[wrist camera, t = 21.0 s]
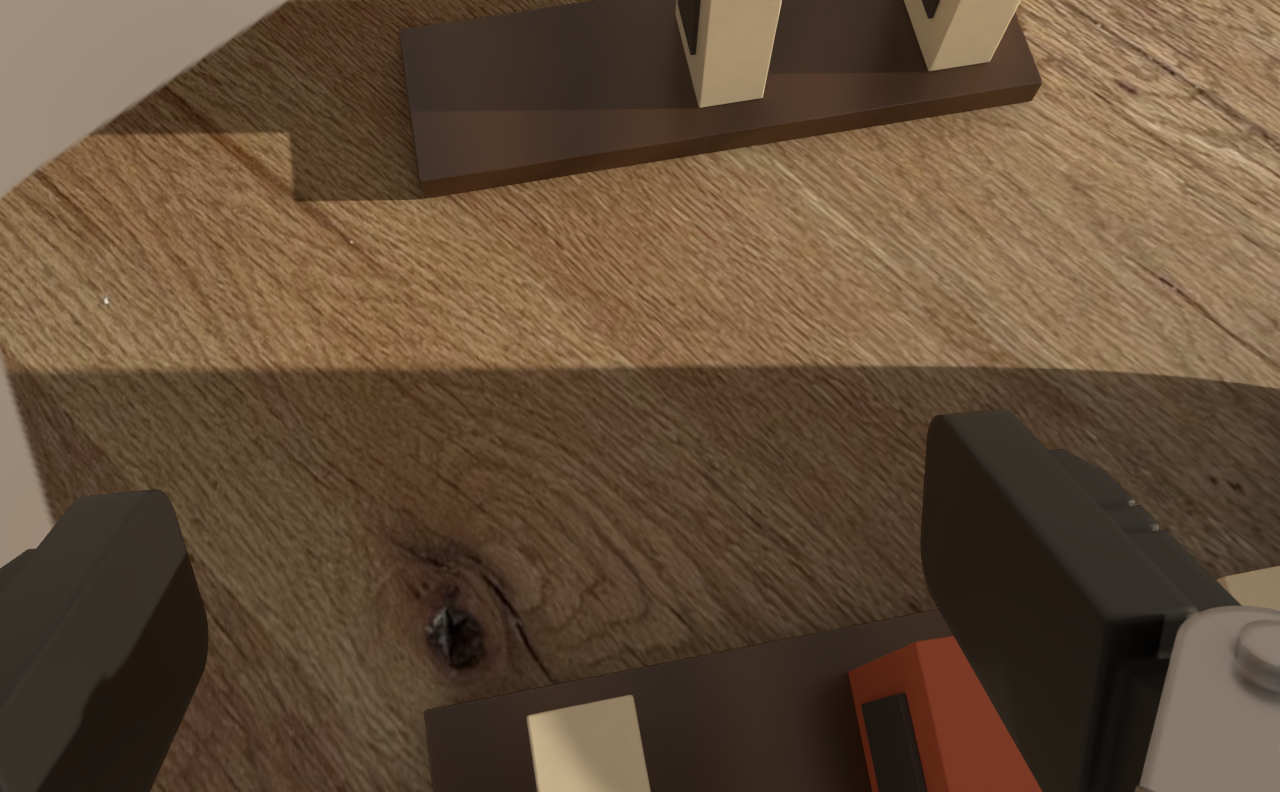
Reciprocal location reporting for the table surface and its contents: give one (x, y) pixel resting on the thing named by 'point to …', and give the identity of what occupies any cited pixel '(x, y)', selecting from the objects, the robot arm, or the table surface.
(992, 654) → the robot arm
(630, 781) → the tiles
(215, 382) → the table surface
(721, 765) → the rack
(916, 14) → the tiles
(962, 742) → the tall orange-red rectangular prism
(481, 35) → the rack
